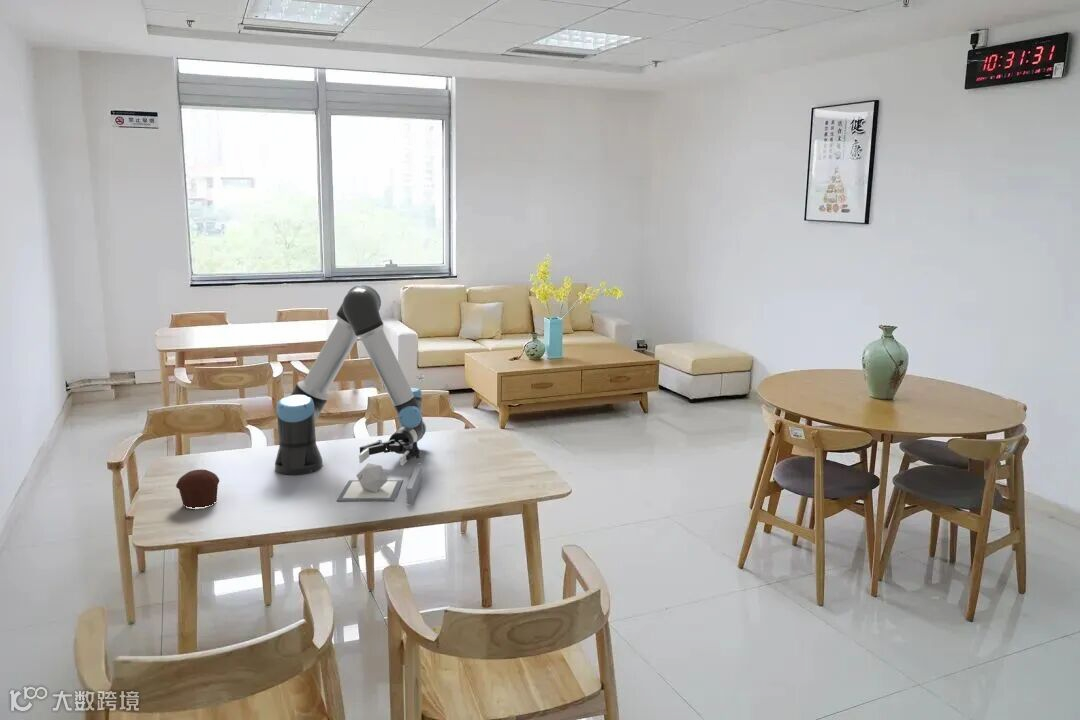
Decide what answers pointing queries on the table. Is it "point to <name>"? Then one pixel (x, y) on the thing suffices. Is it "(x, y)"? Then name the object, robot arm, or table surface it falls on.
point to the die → (372, 477)
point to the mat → (369, 492)
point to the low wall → (414, 484)
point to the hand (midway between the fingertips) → (380, 460)
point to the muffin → (198, 488)
